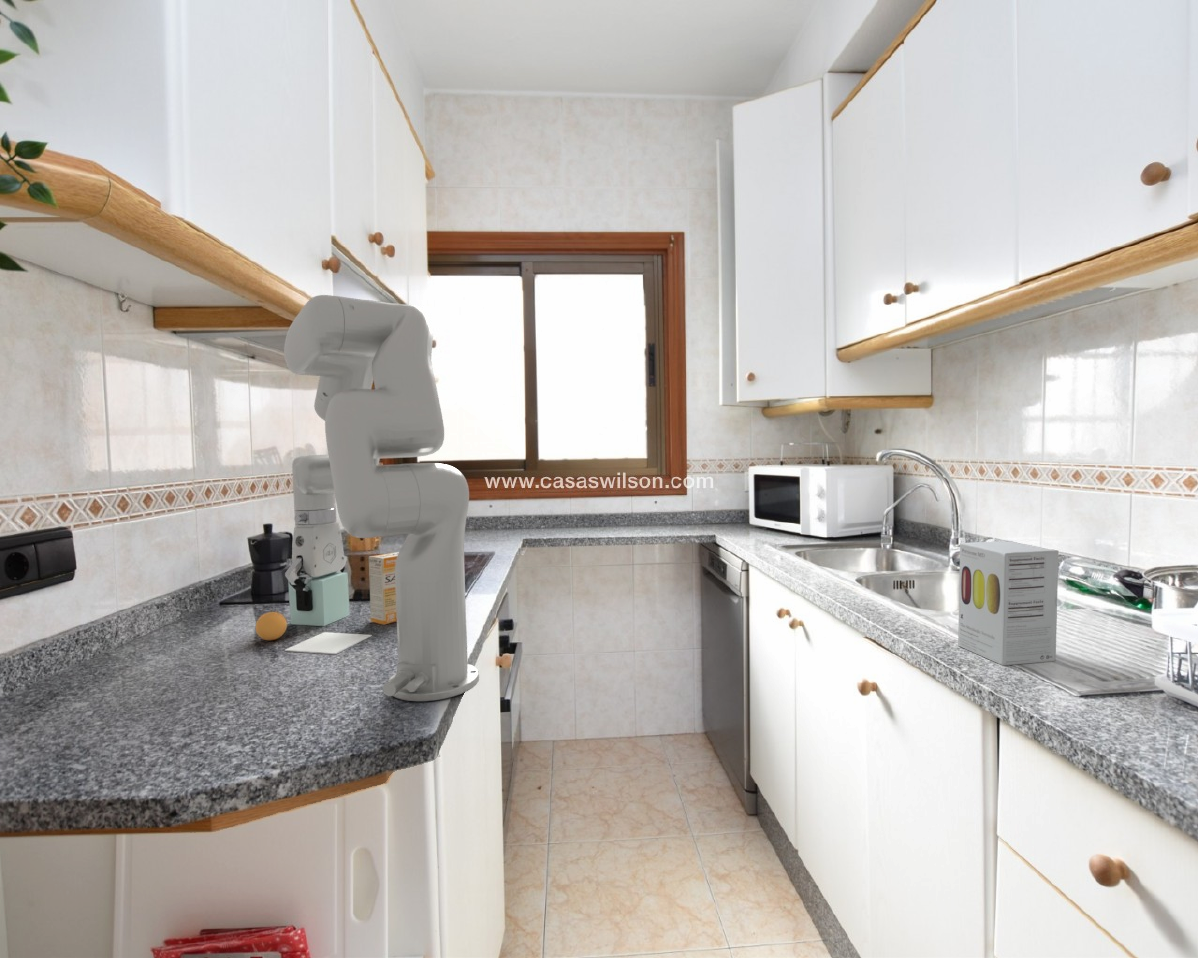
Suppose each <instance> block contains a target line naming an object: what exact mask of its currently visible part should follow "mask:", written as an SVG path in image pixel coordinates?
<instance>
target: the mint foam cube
mask: <svg viewBox="0 0 1198 958" xmlns="http://www.w3.org/2000/svg"><path fill="white" fill-rule="evenodd" d="M305 580H306V579H303V580H301V581H302V582H303V583H305ZM287 581H288V580H287ZM287 584H288V600H289V602H288V603H289V616H290V617H289V619H290V622H289V623H290V625H300V626H301V625H302V626H319V627H326V626H327V625H330V624H332V623H334V622H337V621H339V620H342V619H344V618H347V617H349V616H350V614H351V613H350V596H349V595H350V594H349V593H350V592H349V575H348V572H343V573H341V572H337V573H331V574H328V575H325V576H321V577H318V578H313V580H311V585H310V588H309V590H312V604H313V609H312V610H311V611H298V610H297V607H296V591H294V590H293V587H292V586H291V585H290V584H289V581H288V583H287Z"/></svg>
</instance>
